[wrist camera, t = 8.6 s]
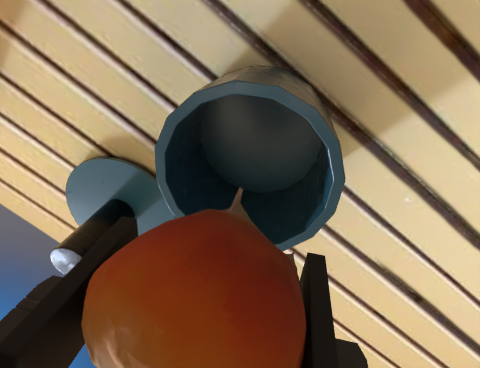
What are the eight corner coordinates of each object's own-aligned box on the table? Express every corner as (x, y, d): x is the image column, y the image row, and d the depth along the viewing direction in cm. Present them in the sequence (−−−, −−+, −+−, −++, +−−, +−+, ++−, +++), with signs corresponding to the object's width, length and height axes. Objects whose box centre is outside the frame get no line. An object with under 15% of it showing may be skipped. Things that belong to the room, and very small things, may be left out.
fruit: (392, 269, 10) (317, 571, 6) (271, 271, 17) (197, 420, 13) (232, 118, 9) (-6, 396, 5) (167, 185, 15) (46, 324, 11)
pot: (196, 57, 26) (149, 69, 18) (346, 76, 24) (372, 98, 16) (194, 184, 32) (159, 236, 24) (312, 205, 31) (317, 267, 23)
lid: (60, 146, 33) (-24, 186, 24) (178, 165, 32) (133, 216, 23) (82, 240, 40) (23, 297, 32) (179, 260, 39) (145, 326, 30)
